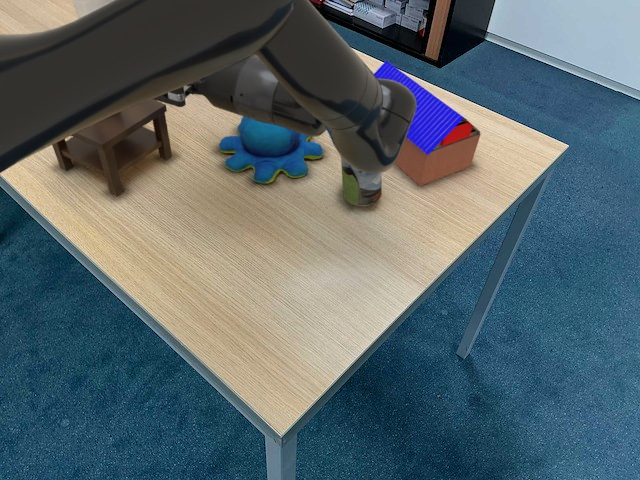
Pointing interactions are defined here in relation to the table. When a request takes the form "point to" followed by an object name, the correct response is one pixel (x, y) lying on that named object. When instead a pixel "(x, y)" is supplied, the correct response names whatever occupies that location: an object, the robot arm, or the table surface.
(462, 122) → the house
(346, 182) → the beverage can
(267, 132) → the plush toy
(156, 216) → the table surface
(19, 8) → the table surface
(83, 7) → the cup
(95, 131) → the plant stand
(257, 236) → the table surface
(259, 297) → the table surface
